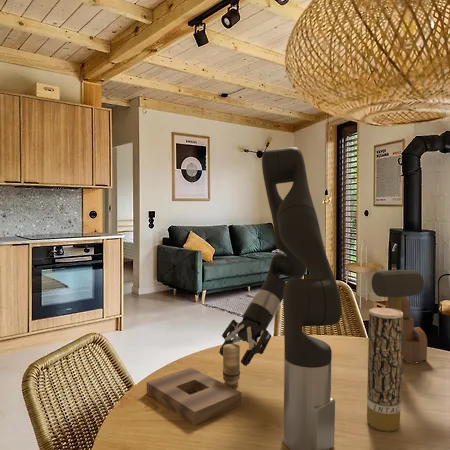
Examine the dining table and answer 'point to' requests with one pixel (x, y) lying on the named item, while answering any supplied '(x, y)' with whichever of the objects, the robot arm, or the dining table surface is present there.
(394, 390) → the paper tube
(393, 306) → the rubber mallet
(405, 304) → the wooden toy
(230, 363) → the peg
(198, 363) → the dining table surface
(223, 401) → the board
